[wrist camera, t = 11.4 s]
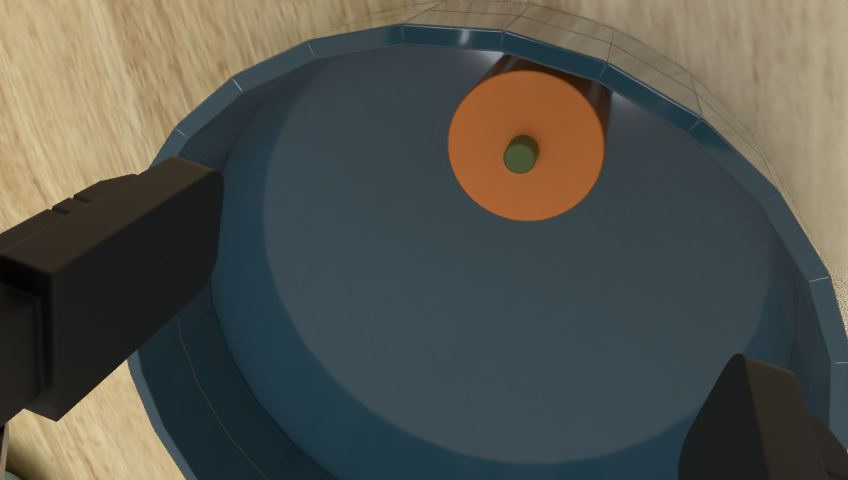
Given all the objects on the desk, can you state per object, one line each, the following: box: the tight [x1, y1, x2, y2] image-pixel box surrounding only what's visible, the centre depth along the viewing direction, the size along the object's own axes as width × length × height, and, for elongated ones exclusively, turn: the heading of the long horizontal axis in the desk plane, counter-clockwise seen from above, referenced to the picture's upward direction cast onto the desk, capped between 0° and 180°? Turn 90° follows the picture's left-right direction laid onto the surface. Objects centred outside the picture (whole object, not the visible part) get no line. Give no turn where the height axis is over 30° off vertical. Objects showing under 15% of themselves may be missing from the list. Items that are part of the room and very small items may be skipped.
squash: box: [448, 55, 610, 221], centre depth 19 cm, size 4×4×4 cm
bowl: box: [127, 0, 848, 480], centre depth 23 cm, size 21×21×5 cm
